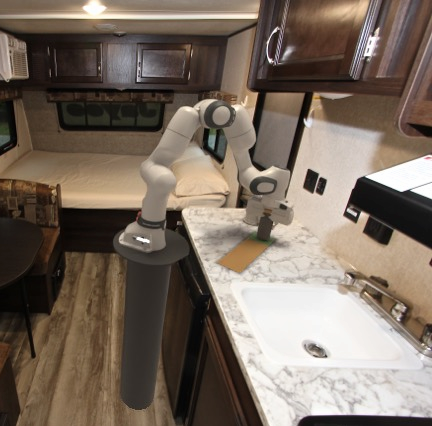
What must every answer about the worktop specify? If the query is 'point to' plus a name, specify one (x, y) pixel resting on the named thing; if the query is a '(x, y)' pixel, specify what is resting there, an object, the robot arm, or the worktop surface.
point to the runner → (242, 255)
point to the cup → (250, 219)
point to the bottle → (265, 226)
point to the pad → (265, 242)
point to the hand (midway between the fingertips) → (264, 226)
